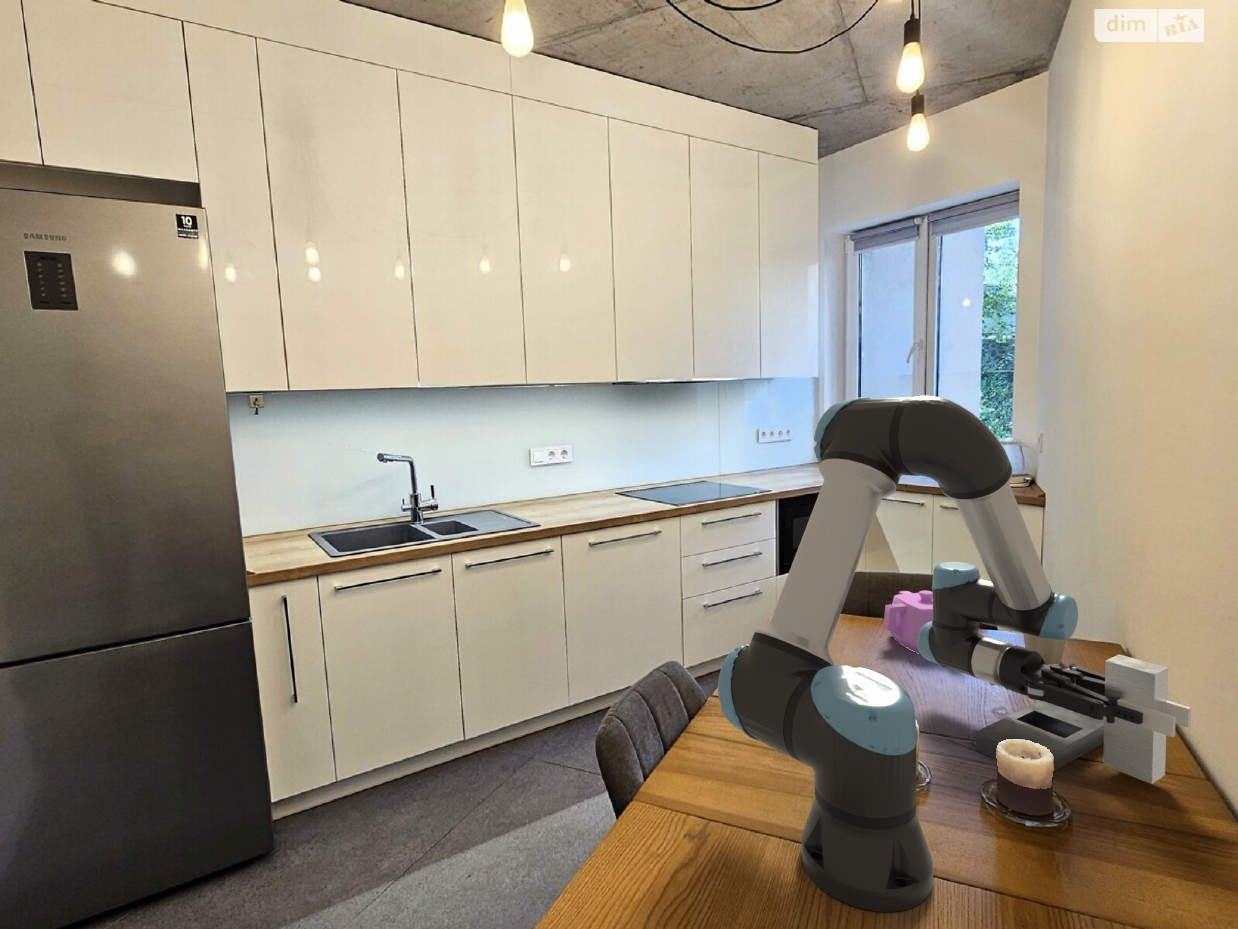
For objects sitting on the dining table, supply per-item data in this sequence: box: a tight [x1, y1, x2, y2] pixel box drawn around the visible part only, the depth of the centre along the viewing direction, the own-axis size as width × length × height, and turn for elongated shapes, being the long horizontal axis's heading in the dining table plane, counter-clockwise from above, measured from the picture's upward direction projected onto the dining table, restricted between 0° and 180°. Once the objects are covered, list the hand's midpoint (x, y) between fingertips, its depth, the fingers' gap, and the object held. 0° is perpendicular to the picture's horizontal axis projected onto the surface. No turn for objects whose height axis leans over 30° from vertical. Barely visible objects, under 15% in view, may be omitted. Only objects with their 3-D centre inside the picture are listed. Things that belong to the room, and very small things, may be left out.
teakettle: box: [883, 590, 933, 654], centre depth 148 cm, size 17×17×12 cm
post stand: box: [974, 701, 1104, 772], centre depth 105 cm, size 25×10×5 cm, turn 119°
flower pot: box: [1022, 633, 1067, 665], centre depth 136 cm, size 9×9×9 cm
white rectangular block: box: [1102, 654, 1169, 785], centre depth 93 cm, size 4×6×16 cm, turn 29°
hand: (1181, 722), depth 89 cm, fingers closed on white rectangular block, 4 cm apart
